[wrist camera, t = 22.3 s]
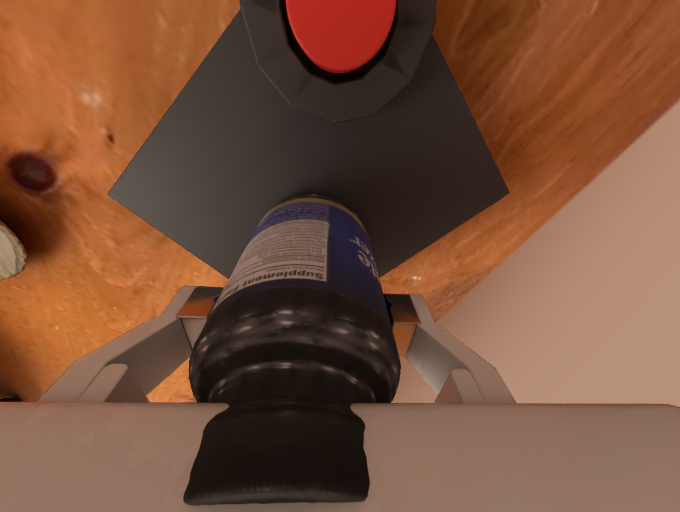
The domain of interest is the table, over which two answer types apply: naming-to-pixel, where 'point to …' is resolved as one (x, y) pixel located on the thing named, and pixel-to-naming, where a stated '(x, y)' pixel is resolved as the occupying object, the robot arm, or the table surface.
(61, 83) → the table surface
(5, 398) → the toy car
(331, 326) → the pill bottle
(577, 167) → the table surface
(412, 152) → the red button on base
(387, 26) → the button
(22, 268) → the seashell
